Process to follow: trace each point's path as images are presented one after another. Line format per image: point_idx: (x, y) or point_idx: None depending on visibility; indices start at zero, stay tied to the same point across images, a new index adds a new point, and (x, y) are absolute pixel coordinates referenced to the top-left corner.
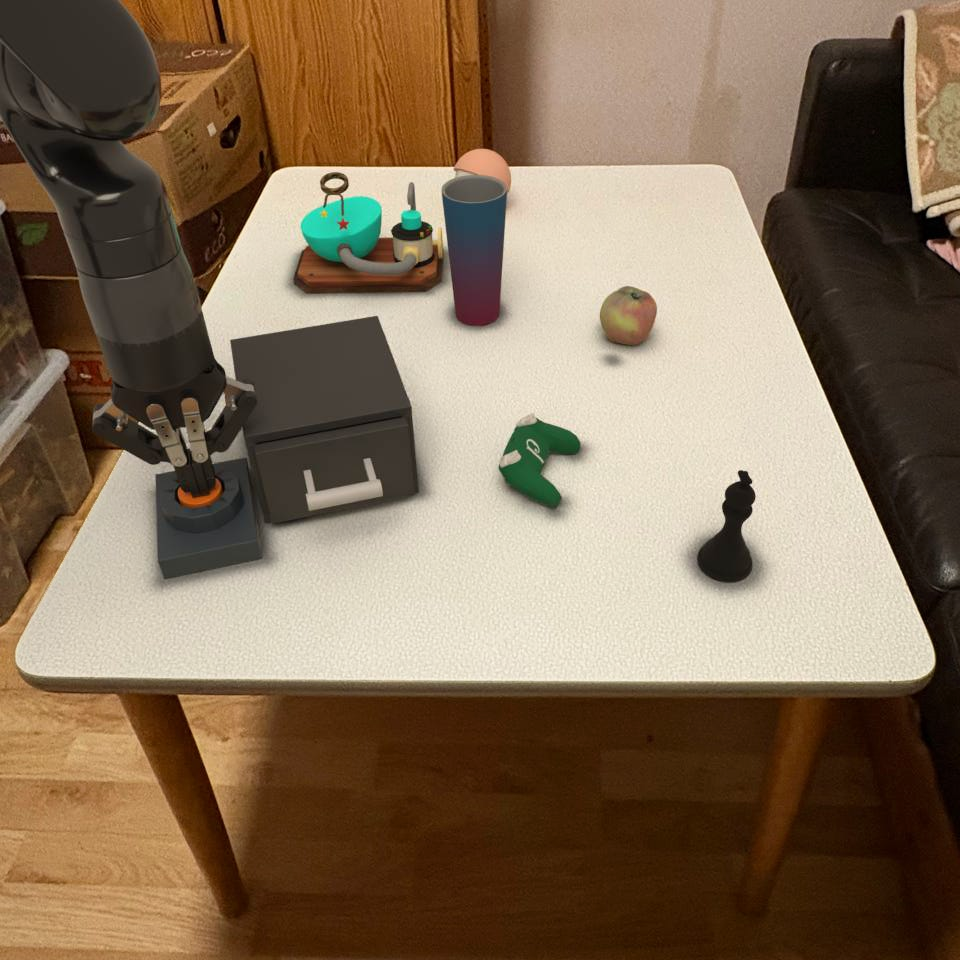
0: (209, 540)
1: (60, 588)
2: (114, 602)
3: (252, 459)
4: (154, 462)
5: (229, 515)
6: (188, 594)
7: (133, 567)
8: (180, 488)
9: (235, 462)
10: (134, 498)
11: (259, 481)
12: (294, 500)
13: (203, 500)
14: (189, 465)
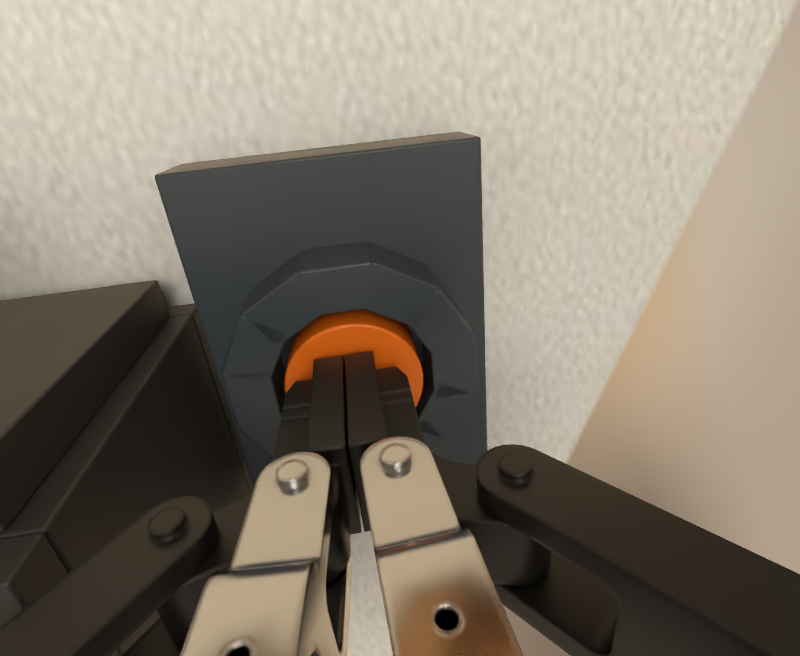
0: (321, 203)
1: (715, 151)
2: (593, 64)
3: (77, 461)
4: (510, 452)
5: (259, 288)
6: (389, 50)
7: (539, 196)
8: (415, 396)
9: None
10: (530, 419)
11: (126, 387)
12: (33, 321)
13: (336, 337)
14: (355, 442)
